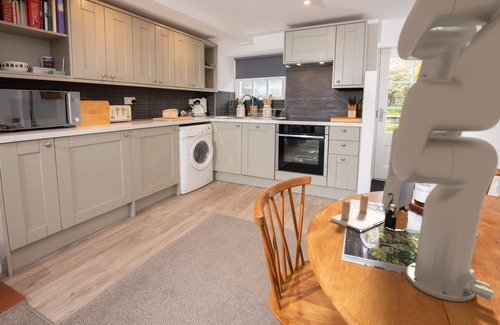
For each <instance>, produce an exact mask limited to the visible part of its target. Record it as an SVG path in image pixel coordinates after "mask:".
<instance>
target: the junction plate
mask: <svg viewBox="0 0 500 325" xmlns="http://www.w3.org/2000/svg"><path fill="white" fill-rule="evenodd" d="M359 199H360V201H359V207H357V208H354V209H352V210H351V200H345V199H344V200H342V202H341V203H342V204H341V213H340V214H336V215H334V216H331V217H330V221H332V222H334V223H335V224H338V225H341V226H344V227H346V226H350V227H353V228H356V229H359V230H363V229H365V228H367V227H369V226H371V225H375V224H377V223H380V222H382V221H384V220H385V214H384V215H383V214H381V213H378V212H375V211H371V210H369V209H368V204H369V195H368V194H361V195H360V198H359Z"/></svg>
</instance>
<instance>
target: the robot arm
mask: <svg viewBox="0 0 500 325" xmlns="http://www.w3.org/2000/svg"><path fill="white" fill-rule="evenodd" d="M478 26H479V27H481V28H480V29H479V30H478V29H477V27H478ZM398 36H399V37H398V41H397V49H396V50H397V54H398V57H399V58H400V59H401V60H404V61H421V63H420V64H421V65H420V68H419V70H418V74H417V78H416V80H415V83H413V84H412V85H411V86H410V88H408V91H407V93H406V94H405V97H404V99H403V102H402V106H401V110H400V111H401V112H400V116H399V122H398V126H397V127H394V129H393V131H392V135H391V145H390V152H389V163H388V171H387V172H388V173H387V176H386V179H385V183H384V188H383V192H382V198H381V199H382V200H381V204H382V209H383V211H384V216H385V223H383V227H384V226H385V227H388V228H391V229H393V230H395V228H396V220H397V217H395V216H396V213H397V210H398V209H399V210H403V211H405V212H407V213H408V214H409V211H410V209H409V206H410V203H411V202H412V203H413V199H414V191H415V184H431V185H435V186H434V187H433V188H432V189H431V191H429V193H428V195H426V198H425V200H424V204H423V208H424V209H423V215H421V224H420V231H419V236H418V237H419V238H418V243H417V244H418V245H417V249H416V250H417V251H416V257H415V262H413V263H410V264H409V265H408V266H407V267H406V269H405V276H406V279H407V280H408V282H410V283H411V284H412V285H413V287H415V288H417V289H418V290H420V291H422V292H424V293H425V294H427V295H429V296H431V297H434V298H438V299H441V300H445V301H449V302H467V301H470V300H472V299H473V298H475V297H476V295H478V296H479V297H481V298H482V299H486V300H487V301H490V302H491V301H493V298H494V296H495V291H494V290H493V289H491V284H489V283H487V282H484V281H482V280H479V279H477V277H475V276H474V274H475V272H476V271H475V269H472V268H471V265H472V261H473V256H474V251H475V244H476V240H477V235H478V229H479V225H480V219H481V215H482V210H483V205H484V201H485V197H486V194H487V192H488V190H489V187H490V185H491V183H492V181H493V178H494V176H495V175H496V174H495V173H496V170H497V168H498V164H499V155H498V152H497V150H496V148H495V147H494V146H493V145H492V144H491V143H490V142H488V141H487V140H484V139H481V138H478V137H471V136H462V134H463V132H484V131H488V130H491V129H493V128H494V127H496V126H497V124H498V123H499V121H500V0H416V1H415V2H414V3H413V6H412V8H411V9H410V11H409V13H408V15H407V16H406V19H405V21H404V24H403V25H402V28H401V30H400V34H399V35H398ZM390 209H394V211H393V212H392V210H390ZM385 227H384V228H385Z"/></svg>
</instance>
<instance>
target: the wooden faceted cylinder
mask: <svg viewBox="0 0 500 325" xmlns="http://www.w3.org/2000/svg"><path fill="white" fill-rule="evenodd" d="M390 210H392V212H393V211H394V209H393V208H390ZM395 217H397V220H396V228H395V229H401V230H403V229H406V228H407V229H408V225H409V224H408V223H409V212H408V213H407V212H405V211H403V210H399V209H398V210H397V213H396V216H395ZM384 223H385V220H384ZM384 223H383V224H384Z"/></svg>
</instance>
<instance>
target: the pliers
mask: <svg viewBox="0 0 500 325" xmlns="http://www.w3.org/2000/svg"><path fill="white" fill-rule="evenodd" d="M423 209H424V207H421V206H419V205H416V204H415V203H413V201H412V202H411V203H410V206H409V211H410V210H411V211H412V212H414V211H415V213H416V212H417V214H419V215H421V214H422V215H421V216H423Z"/></svg>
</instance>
